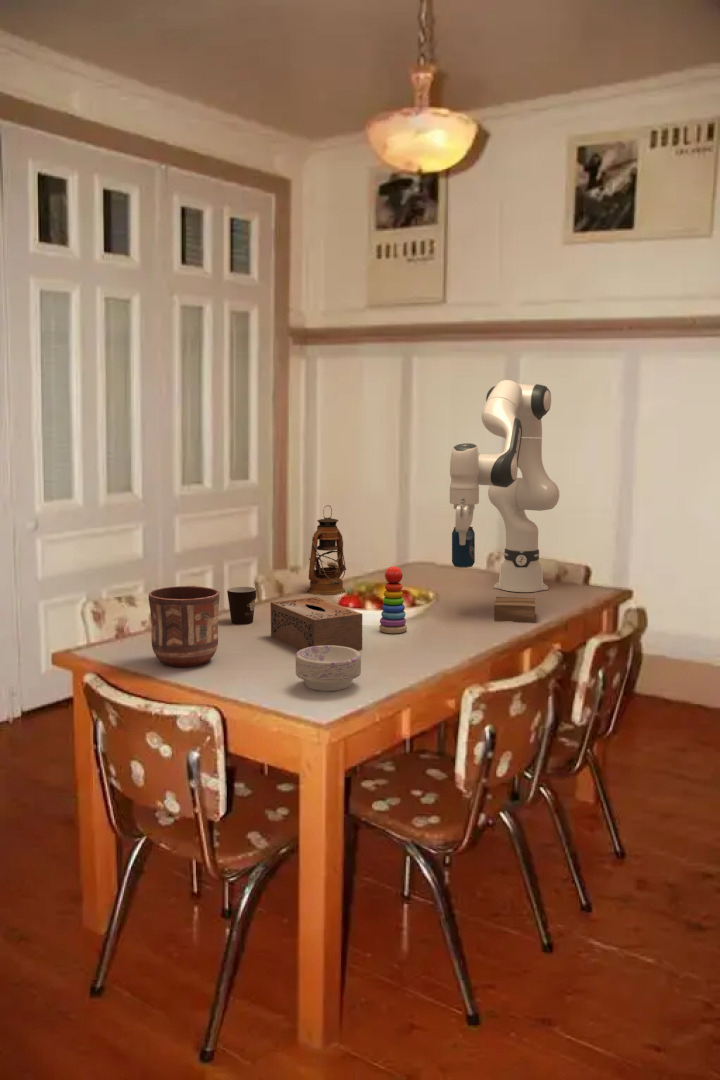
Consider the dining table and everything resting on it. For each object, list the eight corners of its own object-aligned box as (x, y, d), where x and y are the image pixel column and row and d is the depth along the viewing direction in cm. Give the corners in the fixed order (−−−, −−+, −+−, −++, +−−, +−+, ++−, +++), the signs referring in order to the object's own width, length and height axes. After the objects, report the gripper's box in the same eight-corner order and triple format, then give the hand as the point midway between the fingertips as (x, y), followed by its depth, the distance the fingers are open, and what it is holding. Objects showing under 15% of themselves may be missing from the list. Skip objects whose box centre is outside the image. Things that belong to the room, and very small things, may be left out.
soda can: (476, 567, 296) (476, 528, 294) (453, 568, 295) (453, 529, 293) (472, 563, 302) (472, 525, 301) (450, 564, 302) (450, 526, 300)
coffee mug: (237, 626, 285) (237, 593, 284) (222, 621, 292) (221, 589, 291) (270, 621, 293) (270, 588, 291) (254, 616, 299) (254, 584, 298)
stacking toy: (411, 633, 278) (412, 568, 276) (385, 635, 275) (386, 570, 273) (400, 627, 286) (400, 563, 283) (375, 629, 283) (375, 565, 280)
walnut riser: (495, 612, 305) (496, 596, 304) (534, 614, 303) (535, 598, 302) (494, 621, 293) (494, 604, 292) (534, 622, 291) (535, 606, 290)
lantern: (330, 585, 349) (330, 502, 344) (356, 590, 340) (356, 504, 335) (295, 592, 336) (294, 505, 332) (322, 597, 328) (321, 508, 323)
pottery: (152, 673, 237) (151, 600, 235) (147, 655, 254) (145, 587, 251) (225, 668, 242) (224, 597, 240) (215, 651, 259) (214, 584, 256)
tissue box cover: (270, 637, 275) (270, 602, 273) (316, 630, 282) (315, 597, 281) (314, 657, 253) (314, 620, 251) (362, 650, 260) (362, 613, 259)
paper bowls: (346, 699, 218) (346, 664, 216) (284, 691, 223) (284, 657, 222) (370, 680, 232) (370, 648, 230) (312, 674, 237) (311, 642, 236)
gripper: (472, 501, 285) (471, 548, 287) (476, 494, 305) (476, 538, 307) (450, 501, 286) (450, 547, 288) (456, 494, 306) (456, 537, 308)
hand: (463, 542), depth 298 cm, fingers closed on soda can, 7 cm apart
